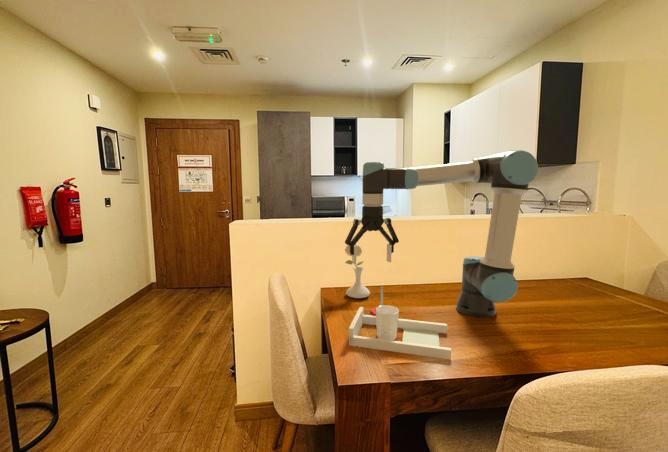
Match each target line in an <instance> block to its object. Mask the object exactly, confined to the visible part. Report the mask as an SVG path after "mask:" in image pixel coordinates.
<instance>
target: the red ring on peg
mask: <svg viewBox="0 0 668 452" xmlns="http://www.w3.org/2000/svg"><path fill="white" fill-rule="evenodd" d="M379 293H380V295H379V296H380V298H379V306H382V305H384V285H380V291H379ZM377 307H378V306H376V307H373V308H371V311H370V313H371V314H372V316H376V308H377Z"/></svg>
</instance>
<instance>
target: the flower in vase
mask: <svg viewBox="0 0 668 452" xmlns="http://www.w3.org/2000/svg"><path fill="white" fill-rule="evenodd" d="M355 246H356V257H360V256H361V254H362V253H363V250H362V248H361V247H360V245H358V244H357V243H356V244H355ZM344 252H345V254H346V255H347V256H350V257H352V255H351V254H350V246H349V245H347V244H346V246H345V249H344ZM344 263H345V264H348V265H354V266H353V267H352V269H353V270H354V274H355V283H353V285H351V286H350V287H349V288H348V289H346V291H345V294H346V295H347V297H350V298H352V299H364V298H368V297H369V296H370V294H371V291H370V290H369V289H368V288H367V287H366V286H365V285H364V284H362V282H361V279H362V278H361V276H362V273H363V270H364V267H363V266H360V265H362V264H363V263H364V260H363V261H359V262H357V263H356V264H353V263H352V260H350V259H347V260H346V261H345V262H344Z"/></svg>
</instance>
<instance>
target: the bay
mask: <svg viewBox="0 0 668 452" xmlns="http://www.w3.org/2000/svg"><path fill="white" fill-rule="evenodd" d="M364 309H365V308H364V307H363V306H359V308H358V310H357V312H356V314H355V315H354V317H353V319H352V321H351V323H350V325H349V327H348V346H349V347H350V346H351V347H357V346H358V348H364V349H365V348H366V349H373V350H379V351H386V352H394V353H402V354H408V355H415V356H422V357H423V356H424V357H429V358H430V357H431V358H436V359H437V358H438V359H444V360H449V361H451V360H452V348H451V347H448V346H447V347H446V346H440V338H439V334H448V324H447V323H444V322H443V323H442V322H432V321H425V320H424V321H422V320H414V319H406V318H405V319H404V318H398V328H397V329H403V335H402V341H400V340H386V339H379V338H378V337H368V336H361V335H359V334H360V331H361V329H362V326H363V325H371V326H372V325H373V326H376V316H373V314H372V315H371V314H365V313H364V312H365V311H364Z"/></svg>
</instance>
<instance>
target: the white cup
mask: <svg viewBox="0 0 668 452" xmlns="http://www.w3.org/2000/svg"><path fill="white" fill-rule="evenodd" d="M376 307H377V308H376ZM376 307H375V308H376V325H375V326H376V336H377V337H376V338H378V339H386V340H394V341H396V339H397V335H398V334H397V333H398V329H399V328H398V319H399V314H400V310H399V308H398V307H396V306H393V305H387V304H385V305H384V304H383V305H382V306H376Z"/></svg>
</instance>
